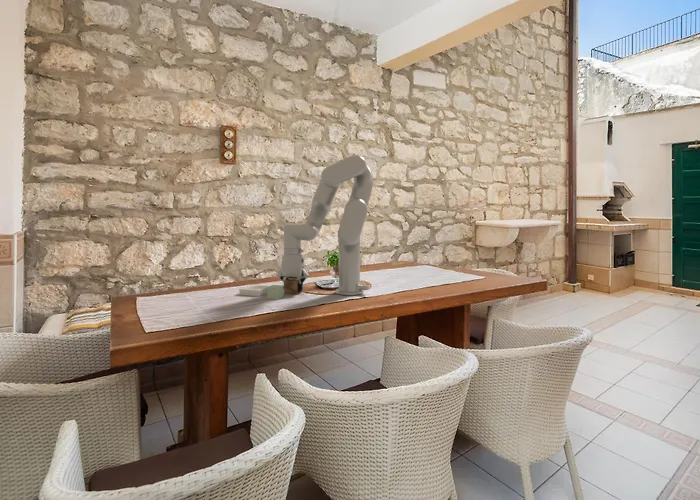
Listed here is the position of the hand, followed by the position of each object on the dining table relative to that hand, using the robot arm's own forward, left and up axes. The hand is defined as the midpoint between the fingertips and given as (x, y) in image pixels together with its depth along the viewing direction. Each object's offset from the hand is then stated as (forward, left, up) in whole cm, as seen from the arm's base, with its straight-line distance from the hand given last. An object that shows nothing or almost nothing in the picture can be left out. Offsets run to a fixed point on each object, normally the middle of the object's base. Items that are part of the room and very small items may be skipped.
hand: (293, 290), depth 184 cm
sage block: (+3, +11, -1) cm, 11 cm away
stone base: (+16, +6, -1) cm, 17 cm away
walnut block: (0, 0, -1) cm, 1 cm away
